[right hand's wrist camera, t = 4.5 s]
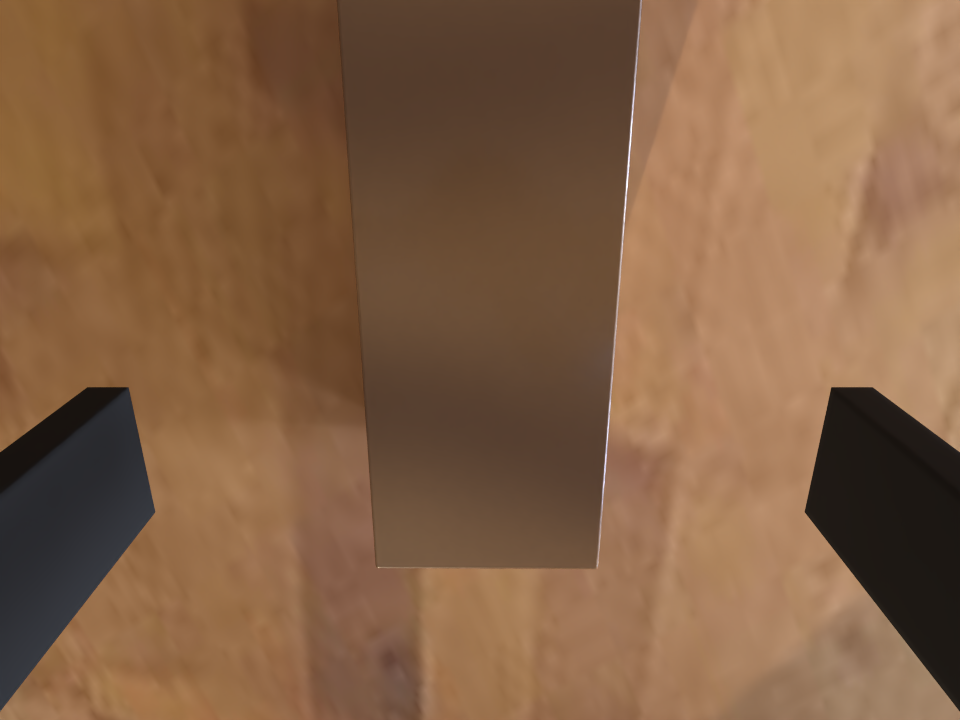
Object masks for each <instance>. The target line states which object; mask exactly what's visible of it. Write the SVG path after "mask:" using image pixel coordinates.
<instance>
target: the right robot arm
mask: <svg viewBox="0 0 960 720" xmlns="http://www.w3.org/2000/svg"><path fill="white" fill-rule="evenodd" d="M154 513H155V509H154V504H153V499H152V495H151V490H150V485H149V481H148V476H147V471H146V467H145V462H144V457H143V453H142V448H141V443H140V439H139V434H138V429H137V425H136V420H135V415H134V411H133V406H132V401H131V397H130V392H129V387H87V388H86V389H85V390H83V391H82V392H81V393H79V394H78V395H77V396H75V397H74V398H73V399H71V400H70V401H69V402H67V403H66V404H65V405H63V406H62V407H61V408H59V409H58V410H57V411H55V412H54V413H52V414H51V415H50V416H48V417H47V418H46V419H44V420H43V421H42V422H40V423H39V424H38V425H36V426H35V427H34V428H32V429H31V430H30V431H28V432H27V433H26V434H24V435H23V436H22V437H20V438H19V439H18V440H16V441H15V442H14V443H12V444H11V445H10V446H8V447H7V448H6V449H4V450H3V451H2V452H0V711H1V710H2V708H3V707H4V706H5V704H6V703H7V702H8V701H9V699H10V698H11V697H12V695H13V694H14V693H15V692H16V690H17V689H18V688H19V686H20V685H21V684H22V683H23V681H24V680H25V679H26V677H27V676H28V675H29V674H30V672H31V671H32V670H33V668H34V667H35V666H36V665H37V663H38V662H39V661H40V660H41V658H42V657H43V656H44V654H45V653H46V652H47V651H48V649H49V648H50V647H51V645H52V644H53V643H54V642H55V640H56V639H57V638H58V636H59V635H60V634H61V633H62V631H63V630H64V629H65V627H66V626H67V625H68V624H69V622H70V621H71V620H72V618H73V617H74V616H75V615H76V613H77V612H78V611H79V609H80V608H81V607H82V606H83V604H84V603H85V602H86V600H87V599H88V598H89V597H90V595H91V594H92V593H93V591H94V590H95V589H96V588H97V586H98V585H99V584H100V582H101V581H102V580H103V579H104V577H105V576H106V575H107V573H108V572H109V571H110V570H111V568H112V567H113V566H114V564H115V563H116V562H117V561H118V559H119V558H120V557H121V555H122V554H123V553H124V552H125V550H126V549H127V548H128V546H129V545H130V544H131V543H132V541H133V540H134V539H135V537H136V536H137V535H138V534H139V532H140V531H141V530H142V528H143V527H144V526H145V525H146V523H147V522H148V521H149V519H150V518H151V517H152V516H153V514H154ZM805 513H806V514H807V516H808V517H809V518H810V519H811V521H812V522H813V523H814V525H815V526H816V527H817V528H818V530H819V531H820V532H821V534H822V535H823V536H824V537H825V539H826V540H827V541H828V543H829V544H830V545H831V546H832V548H833V549H834V550H835V552H836V553H837V554H838V555H839V557H840V558H841V559H842V561H843V562H844V563H845V564H846V566H847V567H848V568H849V570H850V571H851V572H852V573H853V575H854V576H855V577H856V579H857V580H858V581H859V582H860V584H861V585H862V586H863V588H864V589H865V590H866V591H867V593H868V594H869V595H870V597H871V598H872V599H873V600H874V602H875V603H876V604H877V606H878V607H879V608H880V609H881V611H882V612H883V613H884V615H885V616H886V617H887V618H888V620H889V621H890V622H891V624H892V625H893V626H894V627H895V629H896V630H897V631H898V633H899V634H900V635H901V636H902V638H903V639H904V640H905V642H906V643H907V644H908V645H909V647H910V648H911V649H912V651H913V652H914V653H915V654H916V656H917V657H918V658H919V660H920V661H921V662H922V663H923V665H924V666H925V667H926V669H927V670H928V671H929V672H930V674H931V675H932V676H933V677H934V679H935V680H936V681H937V683H938V684H939V685H940V686H941V688H942V689H943V690H944V692H945V693H946V694H947V695H948V697H949V698H950V699H951V701H952V702H953V703H954V704H955V706H956V707H957V708H958V710H959V711H960V452H958V451H957V450H956V449H954V448H953V447H952V446H950V445H949V444H948V443H946V442H945V441H944V440H942V439H941V438H940V437H938V436H937V435H936V434H934V433H933V432H932V431H930V430H929V429H928V428H926V427H925V426H924V425H922V424H921V423H920V422H918V421H917V420H916V419H914V418H913V417H912V416H910V415H909V414H907V413H906V412H905V411H903V410H902V409H901V408H899V407H898V406H897V405H895V404H894V403H893V402H891V401H890V400H889V399H887V398H886V397H885V396H883V395H882V394H881V393H879V392H878V391H877V390H875V389H874V388H873V387H831V392H830V397H829V401H828V406H827V411H826V415H825V420H824V425H823V429H822V434H821V439H820V443H819V448H818V453H817V457H816V462H815V467H814V471H813V476H812V481H811V485H810V490H809V495H808V499H807V504H806V509H805Z"/></svg>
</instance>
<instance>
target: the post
mask: <svg viewBox="0 0 960 720" xmlns="http://www.w3.org/2000/svg"><path fill="white" fill-rule="evenodd" d="M337 9H338V23H339V38H340V53H341V67H342V82H343V96H344V111H345V125H346V140H347V154H348V169H349V183H350V198H351V213H352V227H353V242H354V256H355V271H356V285H357V300H358V314H359V329H360V343H361V358H362V373H363V387H364V402H365V416H366V431H367V445H368V460H369V474H370V489H371V503H372V518H373V532H374V547H375V562H376V567H377V568H483V569H597V568H598V561H599V548H600V535H601V522H602V510H603V497H604V484H605V471H606V458H607V445H608V433H609V420H610V407H611V394H612V381H613V369H614V356H615V343H616V330H617V317H618V305H619V292H620V279H621V266H622V253H623V241H624V228H625V215H626V202H627V189H628V177H629V164H630V151H631V138H632V125H633V112H634V100H635V87H636V74H637V61H638V48H639V36H640V23H641V10H642V0H337Z"/></svg>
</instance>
